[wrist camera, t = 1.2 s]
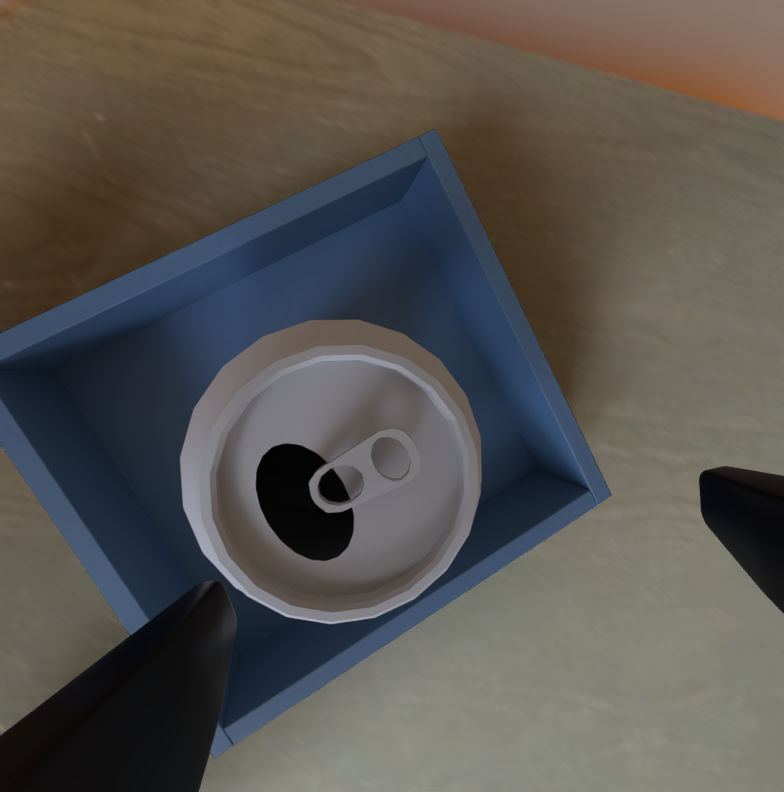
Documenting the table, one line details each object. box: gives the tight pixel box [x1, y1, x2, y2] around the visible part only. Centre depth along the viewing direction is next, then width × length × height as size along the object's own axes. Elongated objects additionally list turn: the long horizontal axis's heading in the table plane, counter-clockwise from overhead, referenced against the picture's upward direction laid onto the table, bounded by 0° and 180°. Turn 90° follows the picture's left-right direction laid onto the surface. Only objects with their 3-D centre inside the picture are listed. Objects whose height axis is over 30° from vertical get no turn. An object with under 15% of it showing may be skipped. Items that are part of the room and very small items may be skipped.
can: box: [180, 320, 482, 624], centre depth 15 cm, size 8×8×12 cm
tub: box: [0, 129, 612, 758], centre depth 19 cm, size 19×17×5 cm
